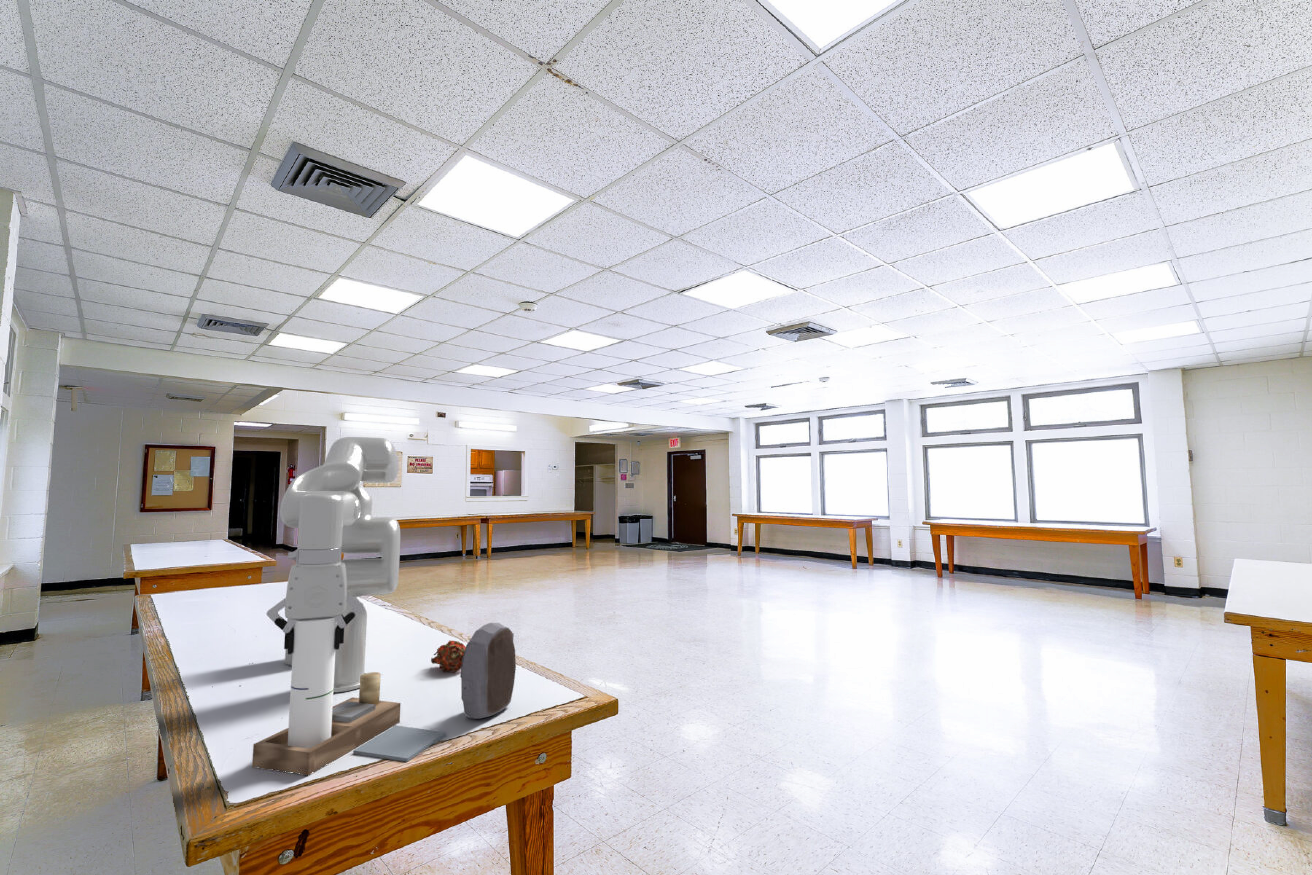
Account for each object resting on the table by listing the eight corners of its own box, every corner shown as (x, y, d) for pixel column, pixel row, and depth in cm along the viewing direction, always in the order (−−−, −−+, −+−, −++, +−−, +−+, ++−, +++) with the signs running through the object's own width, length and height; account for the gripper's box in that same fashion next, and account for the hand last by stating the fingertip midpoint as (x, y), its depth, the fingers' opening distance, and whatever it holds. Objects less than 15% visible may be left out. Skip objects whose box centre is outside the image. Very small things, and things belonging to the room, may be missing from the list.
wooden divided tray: (252, 766, 106) (255, 710, 106) (351, 715, 129) (353, 669, 130) (308, 775, 103) (311, 717, 103) (399, 721, 126) (401, 674, 127)
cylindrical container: (299, 741, 114) (306, 612, 116) (337, 740, 115) (343, 612, 116) (278, 759, 107) (286, 621, 109) (319, 758, 108) (326, 621, 109)
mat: (353, 753, 111) (353, 750, 111) (395, 728, 123) (395, 725, 123) (407, 761, 108) (407, 758, 108) (445, 734, 120) (445, 731, 120)
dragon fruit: (460, 681, 156) (437, 678, 164) (482, 656, 162) (459, 654, 170) (442, 659, 154) (419, 656, 161) (465, 634, 160) (442, 633, 167)
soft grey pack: (479, 727, 124) (482, 631, 125) (447, 721, 127) (451, 627, 128) (519, 702, 138) (522, 616, 139) (490, 698, 141) (492, 613, 142)
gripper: (262, 562, 106) (256, 661, 105) (368, 557, 114) (364, 650, 113) (269, 556, 113) (263, 649, 112) (369, 552, 120) (364, 639, 119)
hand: (314, 649), depth 112 cm, fingers closed on cylindrical container, 7 cm apart
